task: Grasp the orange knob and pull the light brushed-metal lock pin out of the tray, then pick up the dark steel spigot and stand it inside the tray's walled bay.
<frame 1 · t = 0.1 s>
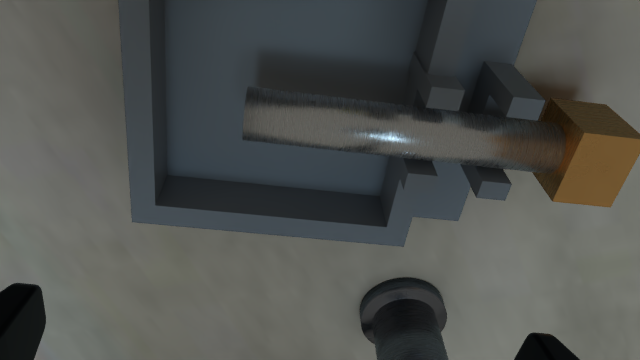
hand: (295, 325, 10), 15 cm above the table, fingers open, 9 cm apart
tray: (287, 81, 23), on the table
lock pin: (433, 134, 20), point 4 cm above the table, slide at 0.0 cm
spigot: (401, 308, 30), on the table
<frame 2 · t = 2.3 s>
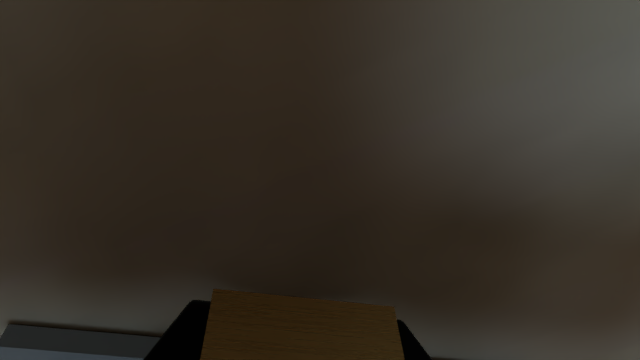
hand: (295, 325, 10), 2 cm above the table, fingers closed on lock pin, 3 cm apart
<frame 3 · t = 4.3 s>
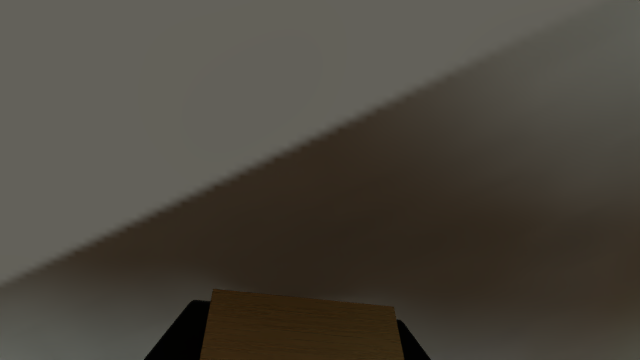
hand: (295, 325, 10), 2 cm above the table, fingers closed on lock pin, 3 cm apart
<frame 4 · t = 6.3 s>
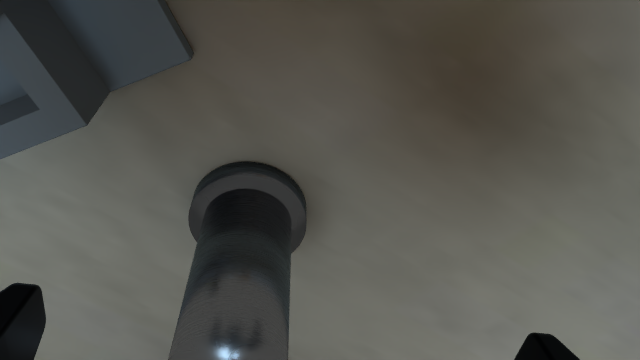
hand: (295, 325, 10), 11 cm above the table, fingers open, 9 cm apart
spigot: (249, 208, 22), on the table
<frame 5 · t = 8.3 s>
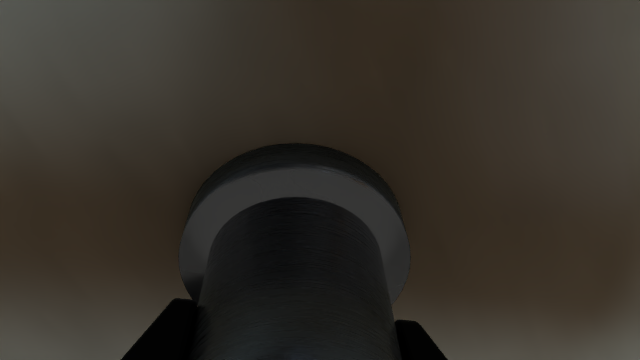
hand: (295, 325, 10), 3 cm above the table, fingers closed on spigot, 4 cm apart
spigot: (295, 237, 12), on the table, touching gripper
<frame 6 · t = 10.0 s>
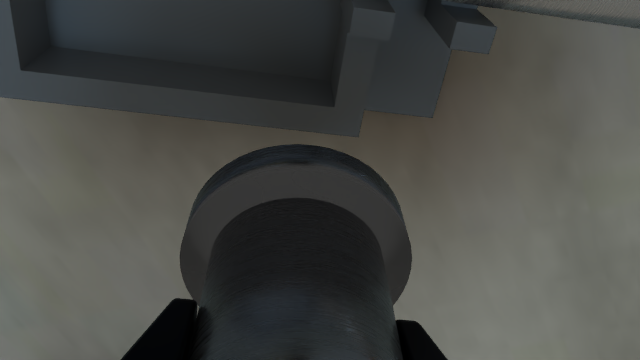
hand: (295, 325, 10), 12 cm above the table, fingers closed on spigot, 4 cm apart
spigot: (297, 237, 12), point 10 cm above the table, touching gripper
when the fingers open (4 cm above the table, at t = 12.1 s): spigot drops 1 cm, resting on tray.
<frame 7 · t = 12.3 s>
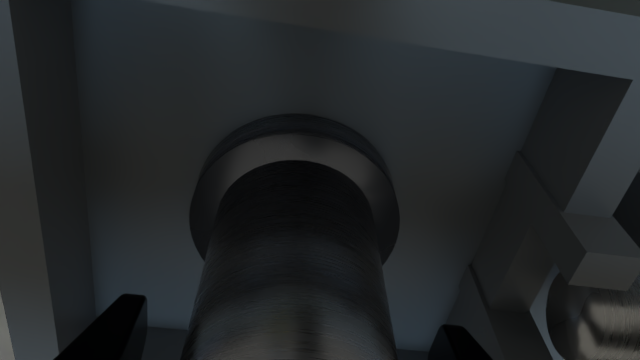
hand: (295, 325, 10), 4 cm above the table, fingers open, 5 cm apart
tray: (296, 187, 13), on the table
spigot: (295, 202, 13), point 1 cm above the table, touching tray
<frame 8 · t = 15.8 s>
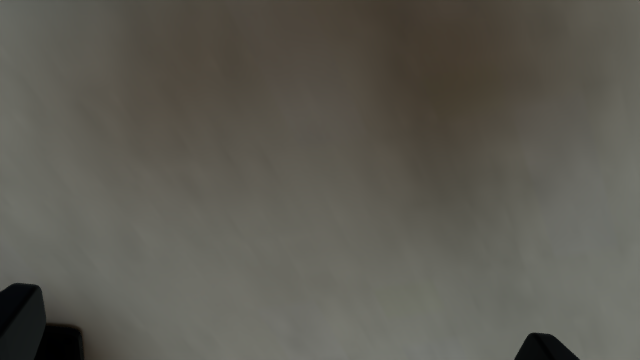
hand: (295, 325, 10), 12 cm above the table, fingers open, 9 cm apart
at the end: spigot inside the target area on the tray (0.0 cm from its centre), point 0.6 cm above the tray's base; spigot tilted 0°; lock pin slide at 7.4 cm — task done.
